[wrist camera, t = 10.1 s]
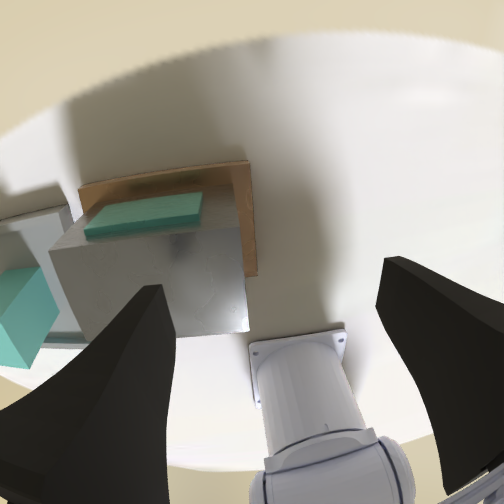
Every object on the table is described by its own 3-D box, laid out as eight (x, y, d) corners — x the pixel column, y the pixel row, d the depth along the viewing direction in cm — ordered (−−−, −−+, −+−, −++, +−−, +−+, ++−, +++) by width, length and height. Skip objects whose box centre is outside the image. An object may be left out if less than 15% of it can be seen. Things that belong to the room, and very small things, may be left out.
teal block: (59, 311, 19) (29, 369, 14) (24, 312, 19) (-8, 364, 14) (40, 266, 17) (-1, 319, 12) (5, 270, 17) (-36, 318, 12)
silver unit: (255, 267, 20) (272, 343, 14) (111, 282, 19) (78, 354, 13) (248, 160, 17) (266, 197, 10) (84, 184, 16) (23, 231, 10)
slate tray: (114, 336, 22) (110, 349, 20) (18, 335, 21) (12, 346, 20) (68, 203, 16) (58, 212, 15) (-30, 228, 16) (-41, 236, 14)
